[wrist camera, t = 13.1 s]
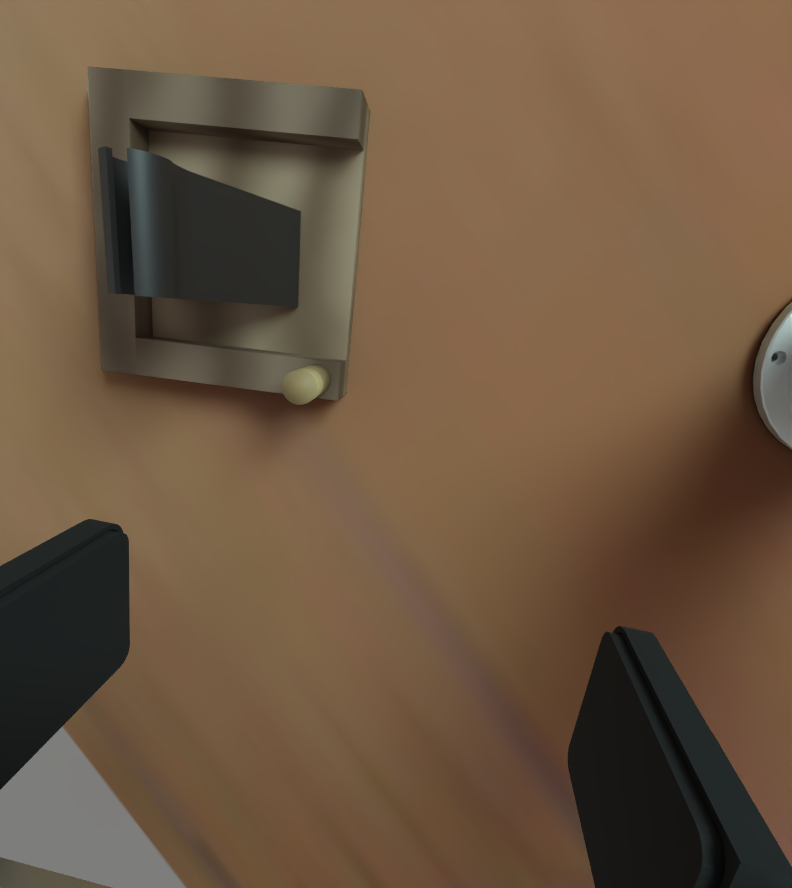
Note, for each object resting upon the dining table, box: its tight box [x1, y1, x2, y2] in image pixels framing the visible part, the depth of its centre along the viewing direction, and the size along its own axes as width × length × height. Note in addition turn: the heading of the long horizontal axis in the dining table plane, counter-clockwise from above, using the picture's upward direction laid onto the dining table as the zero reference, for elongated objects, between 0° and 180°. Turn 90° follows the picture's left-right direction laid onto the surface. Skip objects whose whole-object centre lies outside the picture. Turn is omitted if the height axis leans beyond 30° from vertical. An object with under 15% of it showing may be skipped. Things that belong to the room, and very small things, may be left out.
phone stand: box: [98, 146, 301, 307], centre depth 27 cm, size 9×6×12 cm, turn 85°
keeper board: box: [88, 67, 370, 405], centre depth 30 cm, size 18×18×7 cm
